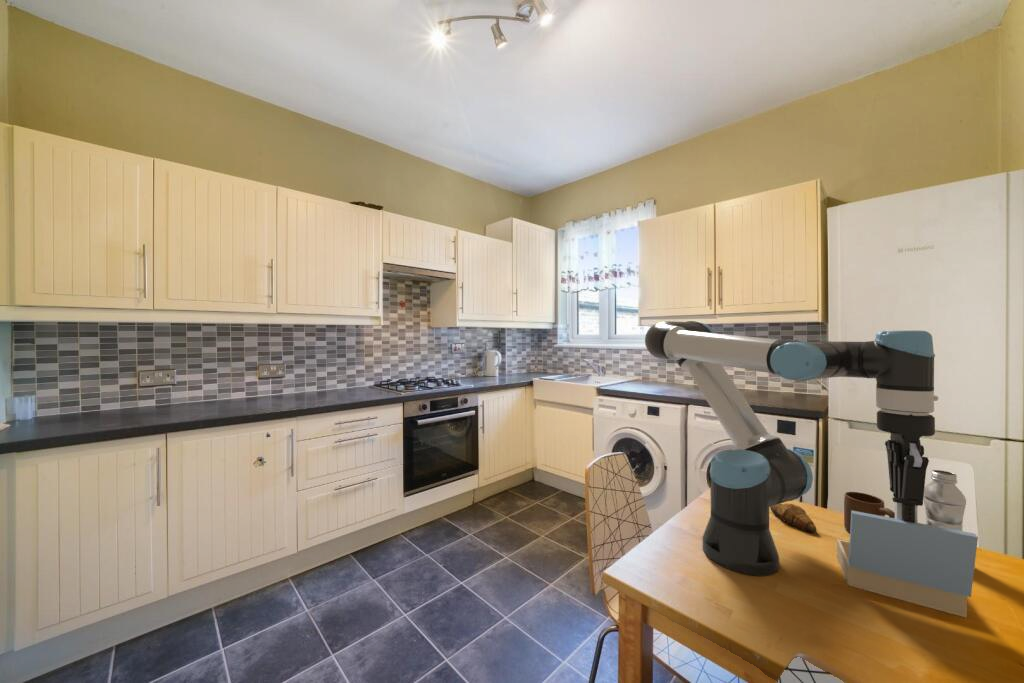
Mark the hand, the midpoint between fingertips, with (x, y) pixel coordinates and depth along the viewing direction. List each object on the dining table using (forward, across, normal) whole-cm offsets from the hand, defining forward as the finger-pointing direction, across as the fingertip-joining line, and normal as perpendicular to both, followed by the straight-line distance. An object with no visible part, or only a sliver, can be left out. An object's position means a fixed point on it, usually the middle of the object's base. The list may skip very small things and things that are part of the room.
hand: (906, 536), depth 69 cm
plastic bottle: (+13, +25, -12) cm, 31 cm away
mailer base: (+13, +8, 0) cm, 15 cm away
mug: (+13, +29, -1) cm, 32 cm away
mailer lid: (+2, 0, 0) cm, 2 cm away
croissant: (+13, +29, +15) cm, 35 cm away
